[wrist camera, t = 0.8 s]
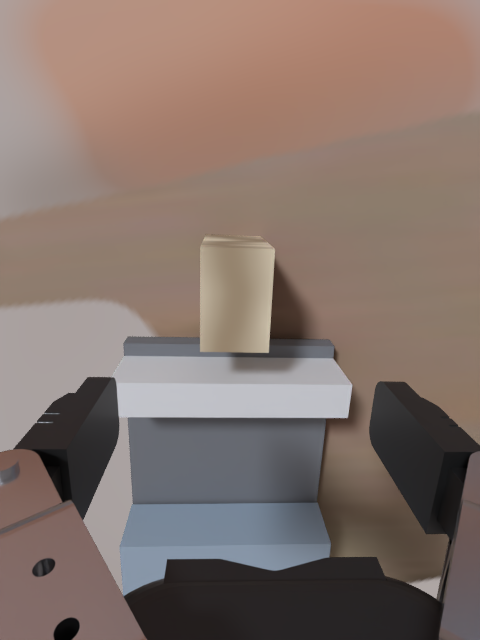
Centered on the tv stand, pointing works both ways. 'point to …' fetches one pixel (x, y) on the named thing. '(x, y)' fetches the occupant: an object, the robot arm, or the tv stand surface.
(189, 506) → the vise jaw
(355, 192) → the tv stand surface
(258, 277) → the birch block
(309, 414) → the panel
